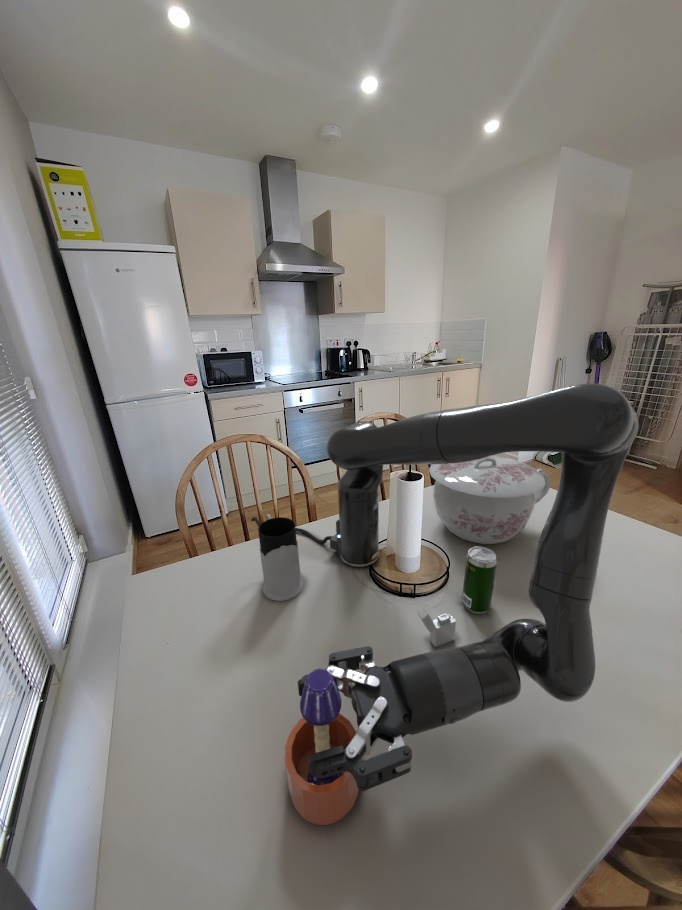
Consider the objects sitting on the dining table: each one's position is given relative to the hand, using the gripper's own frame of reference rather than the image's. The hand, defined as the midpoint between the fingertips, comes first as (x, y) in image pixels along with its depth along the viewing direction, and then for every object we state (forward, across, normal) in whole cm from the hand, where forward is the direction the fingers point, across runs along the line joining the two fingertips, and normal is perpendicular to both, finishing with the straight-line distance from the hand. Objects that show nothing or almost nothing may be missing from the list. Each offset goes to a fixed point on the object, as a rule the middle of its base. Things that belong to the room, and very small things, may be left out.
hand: (303, 723), depth 40 cm
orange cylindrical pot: (-2, 0, +11) cm, 11 cm away
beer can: (-37, -20, +11) cm, 44 cm away
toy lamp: (-2, 0, +11) cm, 11 cm away
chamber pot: (-54, -44, +11) cm, 70 cm away
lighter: (-25, -15, +11) cm, 31 cm away
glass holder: (0, -39, +11) cm, 41 cm away
